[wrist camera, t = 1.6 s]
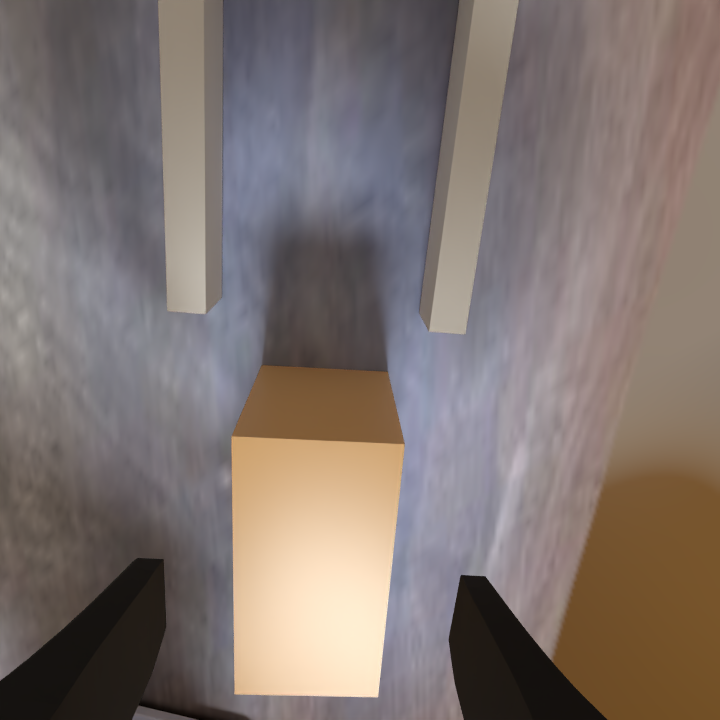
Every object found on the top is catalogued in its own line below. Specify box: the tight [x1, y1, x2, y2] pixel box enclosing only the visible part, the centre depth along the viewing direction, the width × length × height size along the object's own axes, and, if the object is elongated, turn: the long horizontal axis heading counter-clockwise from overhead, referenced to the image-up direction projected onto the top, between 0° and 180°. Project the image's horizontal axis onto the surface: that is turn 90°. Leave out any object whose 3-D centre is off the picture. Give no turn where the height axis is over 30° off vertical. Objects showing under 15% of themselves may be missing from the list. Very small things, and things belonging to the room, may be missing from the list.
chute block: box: [232, 365, 405, 697], centre depth 16 cm, size 8×4×5 cm, turn 176°
